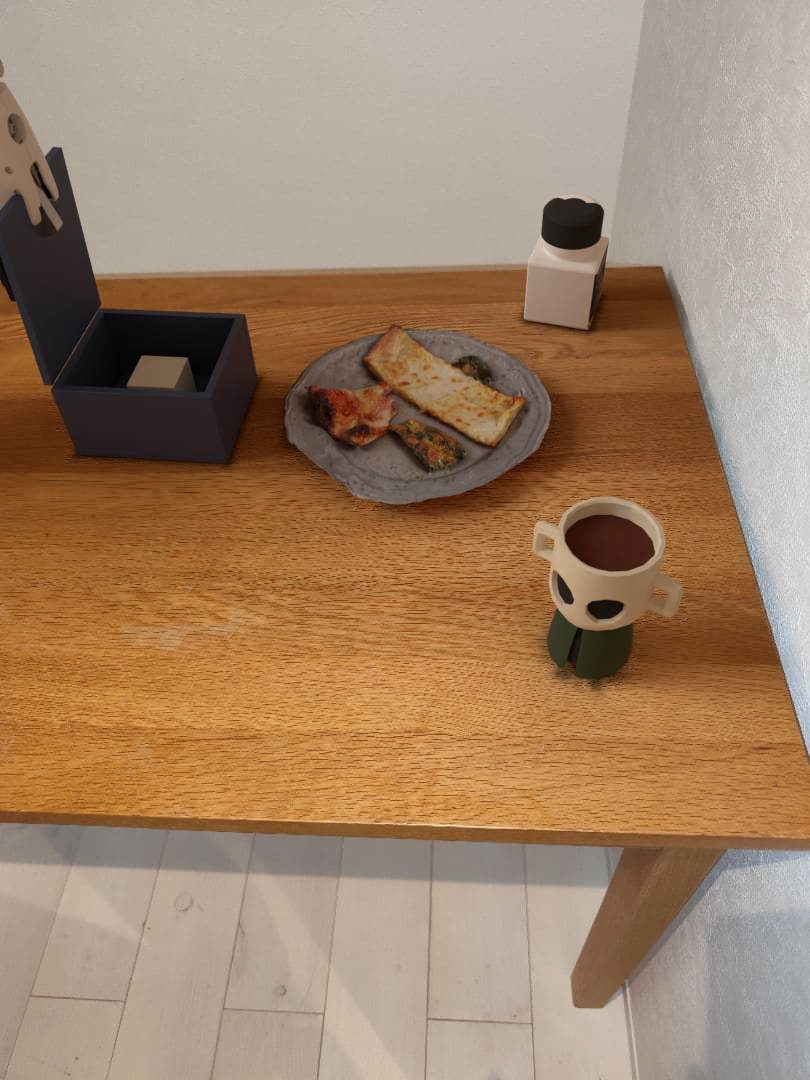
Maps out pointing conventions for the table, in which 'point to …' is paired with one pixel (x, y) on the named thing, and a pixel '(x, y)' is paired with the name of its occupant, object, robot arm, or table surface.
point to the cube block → (162, 374)
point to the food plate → (416, 414)
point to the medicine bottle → (567, 263)
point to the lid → (50, 273)
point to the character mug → (603, 581)
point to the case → (157, 415)
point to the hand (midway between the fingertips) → (27, 292)
